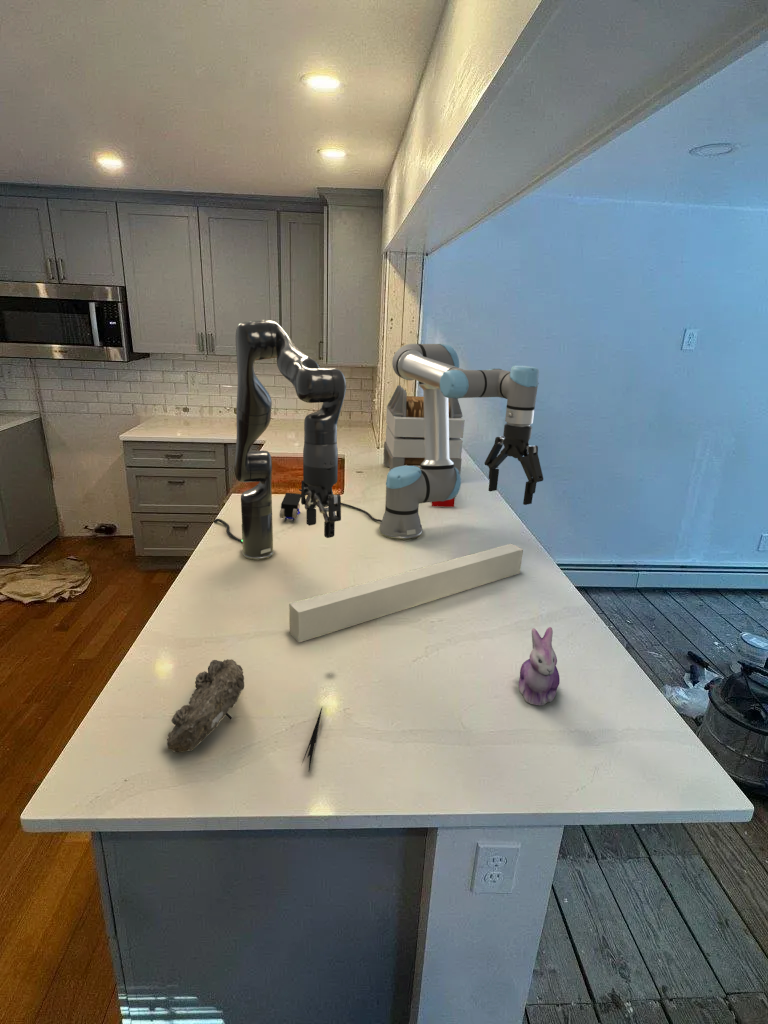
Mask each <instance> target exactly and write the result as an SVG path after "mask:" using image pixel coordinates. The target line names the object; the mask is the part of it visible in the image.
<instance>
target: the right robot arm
mask: <svg viewBox="0 0 768 1024" xmlns="http://www.w3.org/2000/svg"><path fill="white" fill-rule="evenodd" d="M391 361H392V362H391V365H392V369H393V372H394V373H395V374H396V376H398V377H399V378H401V379H403V380H405V381H417V382H418V386H419V387H420V388H421V389H422V391H423V394H422V395H423V396H422V397H424V438H425V460H424V461H423V462H422V463H421V466H407V465H404V466H399V467H395V468H393V469H391V470H390V469H389V470H388V472H387V475H386V479H385V504H384V505H385V507H384V508H385V509H384V513H383V515H382V519H379V518H374V517H373V515H372V514H370V513H369V512H368V511H366V510H364V509H362V508H359V507H358V506H357V507H356V506H354V505H351V504H347V503H345V502H341V506H344V507H348V508H351V509H353V510H356V511H359V512H362V513H364V514H365V515H367V516H368V518H369V519H371V520H372V521H374V522H378V523H379V527H378V533H379V534H380V535H381V536H382V537H385V538H387V539H389V540H395V541H410V540H415V539H418V538H420V537H421V536H422V535H423V525H422V524H421V518H420V515H419V507H420V506H419V505H420V504H427V503H432V502H436V501H445V500H451V499H453V498H454V497H455V498H456V497H457V495H458V494H459V492H460V490H461V485H462V477H461V474H459V471H458V469H456V468H455V467H454V463H453V462H452V461H451V460H450V458H449V406H448V398H455V399H458V400H459V399H470V398H472V399H473V398H500V399H505V400H507V401H506V409H505V417H504V418H505V419H504V422H506V423H505V424H504V425H503V434H502V436H501V435H500V436H495V439H494V444H493V445H492V447H491V450H490V451H489V452H488V455H487V457H486V459H485V461H484V465H485V466H487V467H488V479H489V483H488V491H489V492H495V491H497V490H498V483H499V473H500V469H499V466H501V464H502V463H503V462H504V461H505V460H506V459H507V458H508V457H512V458H514V459H517V460H518V462H520V464H521V467H522V469H523V471H524V474H525V476H526V478H527V481H526V482H525V486H524V493H523V494H524V495H523V502H522V505H524V506H527V505H531V504H533V497H534V494H535V493H536V490H537V489H536V488H537V483H539V482H543V481H544V475H543V470H542V466H541V462H540V457H539V445H530V440H531V439H532V431H533V426H532V424H533V423H534V417H535V408H536V401H537V394H538V389H539V388H538V387H539V384H540V383H539V379H540V378H539V377H540V370H539V368H537V367H536V366H528V365H513V366H512V367H511V368H510V370H505V369H502V368H489V369H463V368H460V358H459V355H458V352H457V351H456V350H455V348H454V347H453V346H452V345H449V344H443V343H408V344H405V345H403V346H400V347H399V348H398V349H397V350H396V351H395V352H394V355H393V356H392V360H391ZM502 448H503V449H502ZM298 491H299V492H301V488H299V489H298Z"/></svg>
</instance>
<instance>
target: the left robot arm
mask: <svg viewBox="0 0 768 1024" xmlns="http://www.w3.org/2000/svg"><path fill="white" fill-rule="evenodd" d="M235 355H236V368H237V387H236V388H237V389H236V390H237V391H236V411H235V413H236V415H235V417H236V438H235V439H236V441H235V449H234V461H233V471H234V476H235V478H236V480H237V481H238V482H240V483H257V484H256V485H255V486H254V487H252V488H249V489H247V490H245V491H243V492H242V493H241V494H240V509H241V511H240V512H241V513H240V514H241V539H240V538H238V536H236V535H234V534H233V533H232V532H231V530H230V525H229V524H228V523H227V522H226V521H225V520H223V519H220V518H215V519H214V520H213V523H214V524H216V523H217V522H218V523H220V524H222V525H223V526H224V527H226V533H227V535H228V536H229V537H230V538H231V539H232V540H234V541H236V542H238V543H242V545H241V546H242V556H243V557H244V558H245V559H247V560H253V561H260V560H261V561H262V560H267V559H269V558H271V557H273V555H274V554H275V553H274V533H273V531H274V530H273V528H274V526H273V489H272V487H273V486H272V483H273V482H272V480H273V459H272V455H271V453H270V452H269V451H268V450H251V448H252V446H253V445H254V444H255V442H256V441H257V440H258V439H259V438H260V437H261V436H262V435H263V434H264V433H265V431H266V430H267V429H268V427H269V425H270V423H271V418H272V405H273V404H272V403H273V402H272V397H271V395H270V393H269V392H268V390H267V388H266V387H265V385H264V384H262V382H261V381H260V379H259V378H258V377H257V375H256V373H255V368H254V366H255V365H254V364H255V362H256V361H262V360H263V361H264V360H271V359H275V358H276V366H277V369H278V371H279V373H280V374H281V376H283V377H284V378H285V379H286V380H288V381H289V383H291V384H292V386H293V388H294V391H295V393H296V394H295V395H296V396H297V398H298V399H299V400H300V401H303V402H304V403H307V404H319V403H322V404H321V407H320V409H319V410H317V411H315V412H312V413H308V414H306V416H305V417H304V422H303V425H304V426H303V437H304V438H303V440H304V441H303V449H302V462H303V463H302V480H301V487H300V489H301V491H300V494H301V499H300V504H301V505H303V506H304V509H305V511H306V517H305V519H306V525H307V526H309V527H310V526H314V525H316V524H317V508H318V511H319V513H320V514H321V515H322V516H323V520H324V522H323V527H324V528H323V529H324V530H323V531H324V532H323V537H325V538H326V539H330V538H334V537H335V532H336V530H335V529H336V528H335V525H336V522H340V521H342V505H341V503H342V499H341V498H342V497H341V494H340V493H338V494H334V491H333V487H334V485H336V484H337V483H338V477H339V476H338V473H339V472H338V470H339V469H338V468H339V467H338V466H339V451H338V422H339V419H340V414H341V411H342V407H343V403H344V400H345V397H346V393H347V392H346V391H347V380H346V377H345V375H344V373H343V372H342V371H341V370H340V369H339V368H337V367H320V366H319V364H318V363H317V362H316V360H315V359H314V358H313V357H311V356H310V355H308V354H307V353H305V352H304V351H303V350H301V349H300V348H299V347H298V346H297V345H296V344H295V342H294V341H293V340H292V338H291V336H289V334H288V333H287V332H286V330H285V329H284V328H283V327H282V325H280V324H279V323H278V322H277V321H275V320H273V319H259V320H248V321H242V322H240V323H238V325H237V327H236V331H235Z"/></svg>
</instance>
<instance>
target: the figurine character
mask: <svg viewBox="0 0 768 1024" xmlns="http://www.w3.org/2000/svg"><path fill="white" fill-rule="evenodd" d="M300 502H301V493H293V492H285V495H284V496H283V499H282V500H281V503H280V512H279V518H280V519H283V522H284V523H287V520H291V523H294V522H295V520H296V519H297V518H298V516H299V515H300V514H301V511H300V508H301V507H300Z"/></svg>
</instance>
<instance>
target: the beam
mask: <svg viewBox="0 0 768 1024" xmlns="http://www.w3.org/2000/svg"><path fill="white" fill-rule="evenodd" d="M523 552H524V549H523V548H522V547H519V546H517V545H515V544H514V543H507V544H504V545H501V546H497V547H492V548H489V549H485V550H482V551H478V552H475V553H471V554H467V555H463V556H459V557H457V558H451V559H449V560H445V561H441V562H437V563H434V564H430V565H426V566H423V567H419V568H415V569H412V570H411V569H410V570H408V571H403V572H401V573H397V574H393V575H389V576H385V577H381V578H379V579H375V580H370V581H367V582H363V583H360V584H356V585H352V586H348V587H345V588H341V589H337V590H334V591H330V592H327V593H326V592H325V593H323V594H319V595H315V596H311V597H308V598H304V599H300V600H297V601H292V602H289V603H288V610H289V611H288V612H289V615H288V616H289V634H290V635H291V636H292V638H294V639H295V641H296V642H297V643H300V644H301V643H302V642H305V641H310V640H313V639H315V638H318V637H321V636H324V635H325V636H326V635H328V634H332V633H335V632H337V631H340V630H344V629H348V628H350V627H354V626H357V625H359V624H364V623H366V622H369V621H372V620H376V619H380V618H382V617H385V616H389V615H393V614H394V613H395V614H396V613H398V612H401V611H404V610H405V611H406V610H408V609H411V608H413V607H417V606H420V605H423V604H427V603H430V602H434V601H436V600H439V599H443V598H447V597H449V596H453V595H455V594H459V593H463V592H465V591H469V590H471V589H474V588H478V587H481V586H484V585H488V584H490V583H494V582H497V581H500V580H503V579H506V578H509V577H513V576H516V575H520V574H521V569H522V561H523V555H524V554H523Z"/></svg>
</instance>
